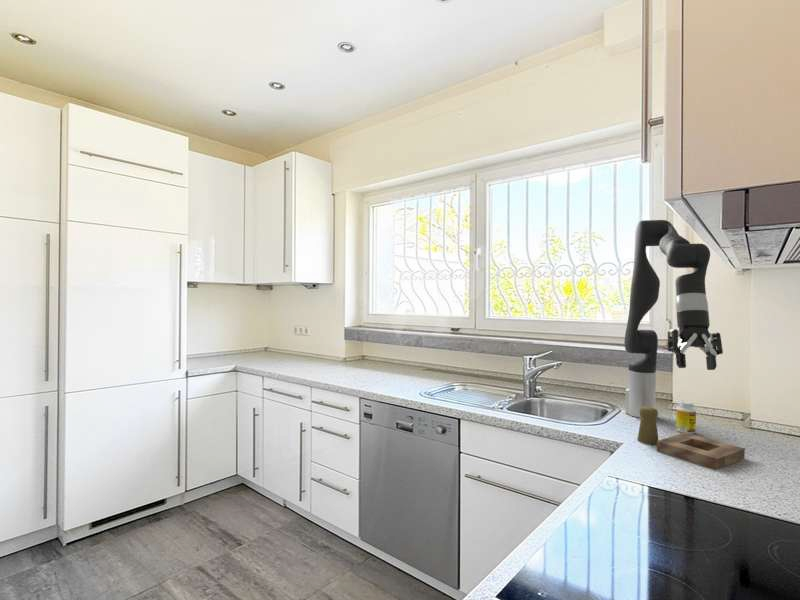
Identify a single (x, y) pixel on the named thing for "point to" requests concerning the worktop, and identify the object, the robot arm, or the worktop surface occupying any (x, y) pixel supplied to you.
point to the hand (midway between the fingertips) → (696, 368)
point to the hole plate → (701, 450)
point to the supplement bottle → (686, 417)
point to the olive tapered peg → (648, 426)
